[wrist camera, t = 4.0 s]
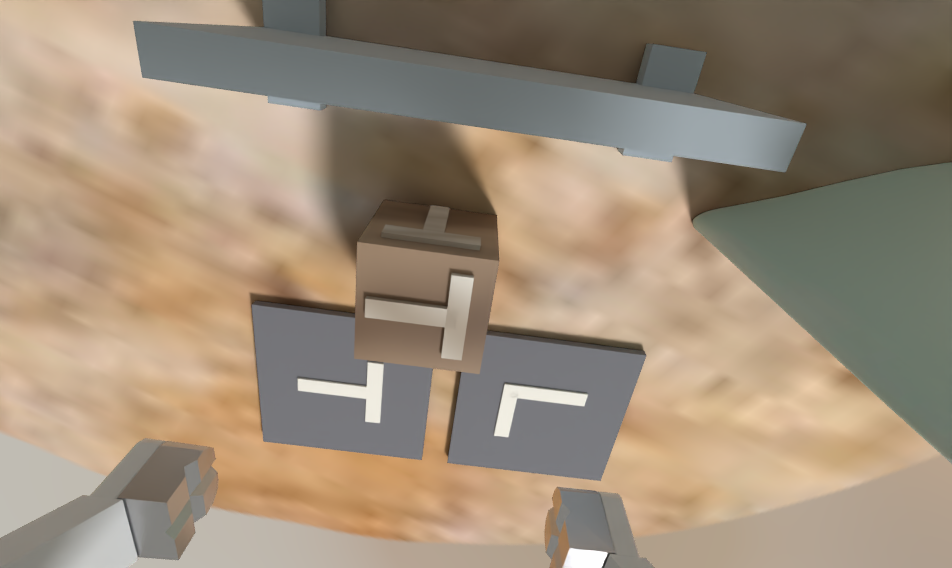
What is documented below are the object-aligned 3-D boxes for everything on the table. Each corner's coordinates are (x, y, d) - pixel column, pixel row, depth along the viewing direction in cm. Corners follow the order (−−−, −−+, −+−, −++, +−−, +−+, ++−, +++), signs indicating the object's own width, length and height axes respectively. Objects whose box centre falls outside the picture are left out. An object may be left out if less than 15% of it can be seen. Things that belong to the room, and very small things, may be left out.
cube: (384, 194, 21) (355, 238, 16) (497, 210, 21) (500, 258, 17) (379, 297, 23) (352, 361, 19) (481, 311, 24) (479, 377, 19)
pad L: (467, 328, 24) (467, 333, 24) (644, 350, 24) (647, 356, 24) (448, 457, 28) (447, 464, 28) (599, 475, 28) (600, 482, 28)
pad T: (255, 300, 24) (250, 305, 23) (437, 324, 24) (437, 329, 23) (266, 436, 28) (262, 442, 27) (422, 454, 28) (421, 461, 28)
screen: (270, -16, 17) (120, -53, 10) (698, 51, 18) (834, 60, 11) (276, 100, 19) (152, 136, 12) (664, 157, 20) (762, 224, 13)
